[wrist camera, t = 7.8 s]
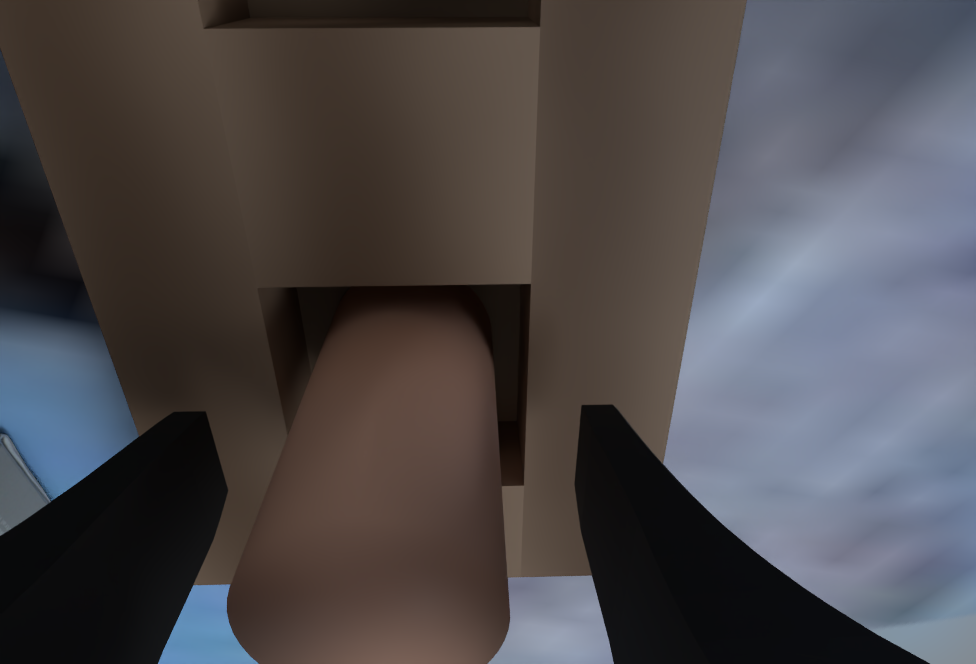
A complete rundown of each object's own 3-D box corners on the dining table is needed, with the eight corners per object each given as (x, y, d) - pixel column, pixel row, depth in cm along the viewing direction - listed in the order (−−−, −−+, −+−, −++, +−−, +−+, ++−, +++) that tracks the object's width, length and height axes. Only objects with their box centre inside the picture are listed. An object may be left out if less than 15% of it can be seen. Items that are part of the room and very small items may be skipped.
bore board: (787, -707, 8) (927, -1003, 6) (619, 493, 20) (643, 574, 17) (-121, -726, 8) (-392, -1046, 6) (229, 501, 19) (192, 585, 17)
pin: (493, 264, 15) (515, 519, 8) (490, 400, 17) (506, 697, 10) (324, 263, 15) (198, 522, 8) (341, 400, 17) (253, 702, 10)
